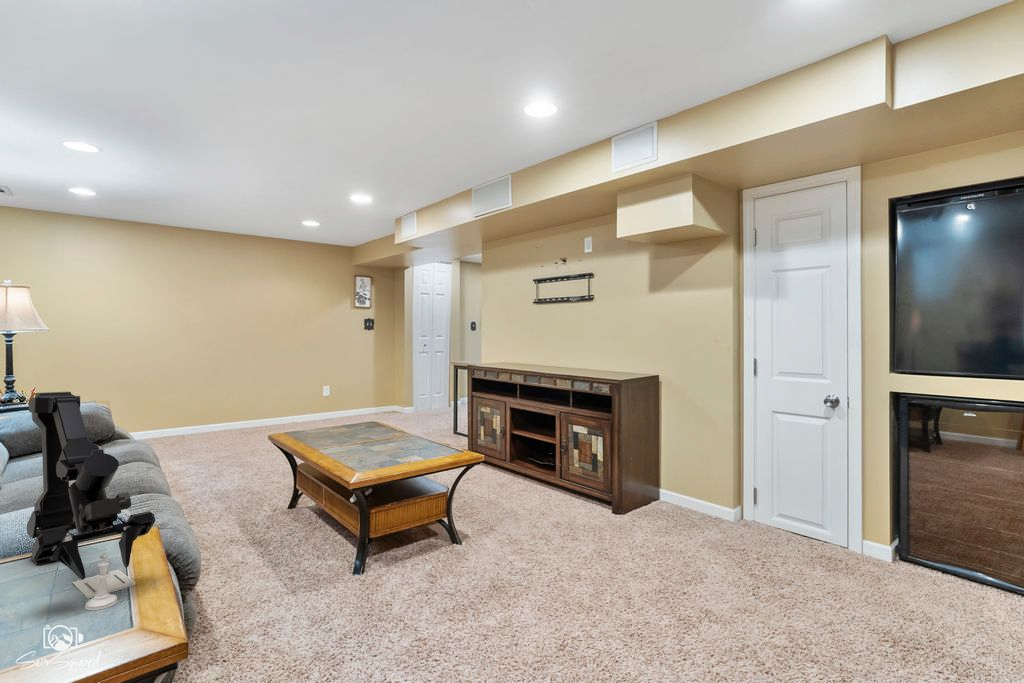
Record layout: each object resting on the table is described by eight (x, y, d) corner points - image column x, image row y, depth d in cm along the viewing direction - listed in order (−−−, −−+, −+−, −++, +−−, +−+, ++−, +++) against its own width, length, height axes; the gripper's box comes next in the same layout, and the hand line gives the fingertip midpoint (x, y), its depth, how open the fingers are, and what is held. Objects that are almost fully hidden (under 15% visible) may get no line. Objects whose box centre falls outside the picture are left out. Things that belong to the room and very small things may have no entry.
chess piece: (99, 612, 96) (102, 560, 96) (78, 608, 97) (81, 556, 97) (123, 599, 100) (126, 550, 101) (103, 596, 101) (106, 547, 102)
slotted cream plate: (72, 583, 106) (72, 581, 106) (118, 571, 112) (118, 569, 112) (88, 599, 100) (88, 597, 100) (135, 584, 107) (135, 582, 107)
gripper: (39, 491, 93) (53, 567, 87) (154, 473, 109) (173, 537, 102) (25, 523, 98) (38, 598, 91) (138, 502, 113) (155, 564, 107)
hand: (106, 572), depth 98 cm, fingers open, 7 cm apart
